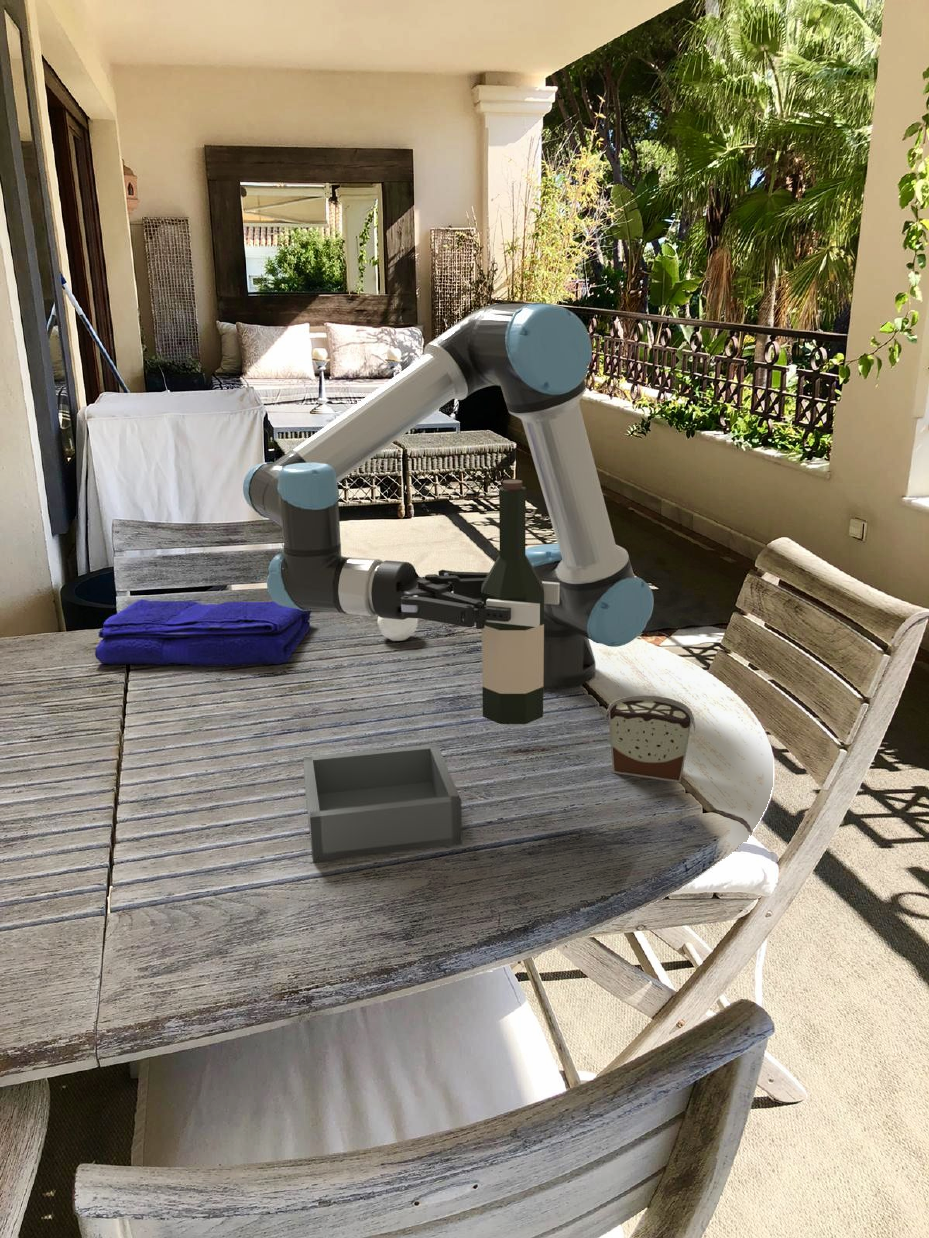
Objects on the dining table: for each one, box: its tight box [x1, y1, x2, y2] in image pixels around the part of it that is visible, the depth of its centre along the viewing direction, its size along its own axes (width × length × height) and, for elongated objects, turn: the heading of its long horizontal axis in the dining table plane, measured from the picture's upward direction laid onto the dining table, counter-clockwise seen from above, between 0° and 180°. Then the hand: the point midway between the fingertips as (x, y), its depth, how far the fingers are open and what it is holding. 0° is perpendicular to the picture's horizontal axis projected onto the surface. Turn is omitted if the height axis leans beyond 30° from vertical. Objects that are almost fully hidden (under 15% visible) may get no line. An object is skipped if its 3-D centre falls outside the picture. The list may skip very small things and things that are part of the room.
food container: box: [603, 694, 696, 783], centre depth 137 cm, size 12×6×10 cm, turn 71°
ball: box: [376, 616, 419, 642], centre depth 190 cm, size 8×8×8 cm
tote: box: [302, 743, 463, 863], centre depth 124 cm, size 18×16×6 cm
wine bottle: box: [480, 479, 544, 725], centre depth 122 cm, size 8×8×30 cm
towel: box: [94, 599, 312, 667], centre depth 188 cm, size 26×36×9 cm
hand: (549, 604), depth 120 cm, fingers closed on wine bottle, 8 cm apart
